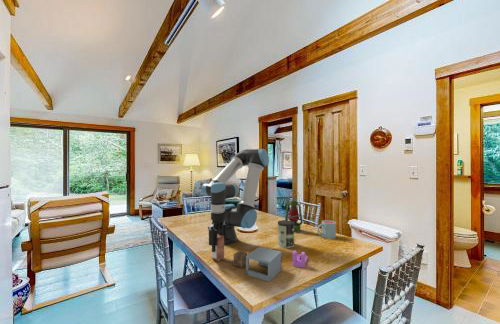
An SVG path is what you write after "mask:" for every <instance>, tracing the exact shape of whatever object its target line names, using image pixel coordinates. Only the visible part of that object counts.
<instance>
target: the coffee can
mask: <svg viewBox="0 0 500 324" xmlns="http://www.w3.org/2000/svg"><path fill="white" fill-rule="evenodd" d="M294 224H295V223H294V222H293V221H290V220H289V219H288V220H285V219H283V220H278V221H277V245H278V247H280V248H285V249H289V248H293V247H295V233H294Z"/></svg>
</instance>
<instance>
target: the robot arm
mask: <svg viewBox="0 0 500 324" xmlns="http://www.w3.org/2000/svg"><path fill="white" fill-rule="evenodd" d="M269 162H270V157H269V154H268V151H267V150H266V149H264V148H257V149H256V148H254V149H253V148H252V149H251V148H250V149H248V148H247V149H243V150H241V151H239V152H237V153H236V154H235V155H234V156H233V157H231V158H230V161H229V162H228V163H227V165H225V167H224V168H223V169H221V171H220V172H219V173H218V174H217V175H216V176H215V177H214V178H213V179H212V180H211V181H210V182H206V183H203V184H202V186H201V189H200V190H201V194H202V195H204V196H206V197H210V212H211V213H210V221H212V223H211V225H208V226H207V230H208V246H211V258H212V257H213V258H217V245H216V242H217V235H218V234H219V235H224V245H231V244H234V243H236V242H237V241H238V236H237V232H236V230H235V227H237V228H241V229H251V228H253V227H254V226H255V224H256V222H257V218H258V212H257V210H256V207H255V206H254V205H255V200H256V195H257V191H258V186H259V183H260V177H261V172H262V171H264V170H265V167H267V166H269ZM245 166H247V168H248V169H247V174H246V178H245V182H244V186H243V190H242V194H241V198H240V201H239V202H238V203H237V204H236V207H235V204H233V203H229V204H226V200H227V199H232V198H235V197H237V196H238V195H239V192H240V191H239V190H240V189H239V186H238V185H236V184H234V183H233V184H232V183H231V184H227V183H228V182H229V181H230V180H231V178H232V177H233V176H234V175H235V174H236V173H237V172H238V170H241V169H242V168H243V167H245Z"/></svg>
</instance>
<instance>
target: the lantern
mask: <svg viewBox="0 0 500 324" xmlns="http://www.w3.org/2000/svg"><path fill="white" fill-rule="evenodd" d="M291 192H294V193H297V194H298V195H300V193H299V192H298V191H297V190H290V191H289V192H288V194H287V195H288V196H287V198H288V199H287V202H286V210H285V216H284V217H285V218H284V220H288V221H293V222H294V223H295V224H294V234H296V233H300V232H302V229H301V225H303V223H304V222H303V221H304V220H303V215H302V207H301V205H302V203H301V201H300V197H298V199H296V198H295V197H294V196H292V198H291V199H289V197H290V193H291ZM289 200H290V202H289ZM298 202H299V203H298ZM297 206H298V207H297ZM298 221H300V222H298Z"/></svg>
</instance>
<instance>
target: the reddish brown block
mask: <svg viewBox="0 0 500 324" xmlns="http://www.w3.org/2000/svg"><path fill="white" fill-rule="evenodd" d="M216 245H217V258H213V257H212V256H211V260H213V261H217V262H220V261H226V262H229V263H233V266H234V267H238V268H244V267H246V256H247V255H248V252H246V251H241V250H238V251H236V252H235V253H233V260H231V259H226V258H225V244H224V235H219V234H218V235H217V242H216Z"/></svg>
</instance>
